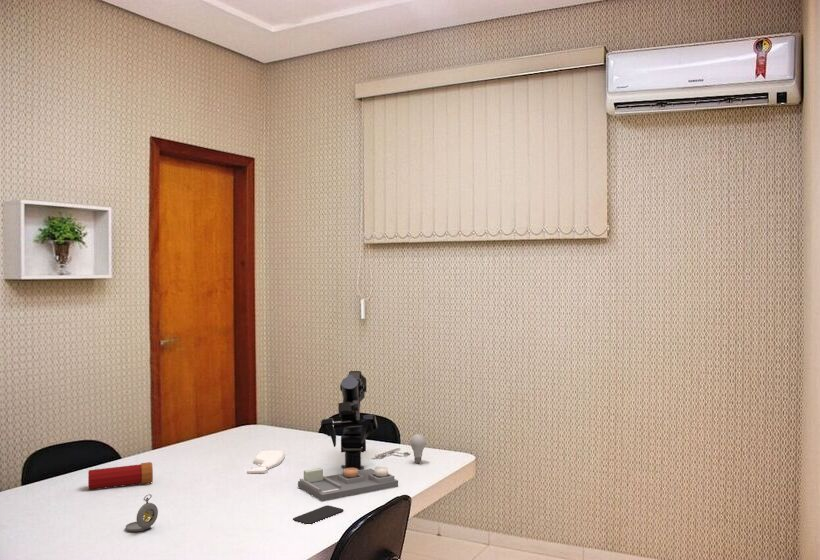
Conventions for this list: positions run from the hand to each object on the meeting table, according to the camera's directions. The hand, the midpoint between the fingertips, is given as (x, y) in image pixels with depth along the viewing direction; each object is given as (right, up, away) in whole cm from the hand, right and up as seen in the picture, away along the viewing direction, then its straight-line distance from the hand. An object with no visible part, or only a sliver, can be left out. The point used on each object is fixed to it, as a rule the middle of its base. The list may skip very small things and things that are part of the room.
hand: (347, 444), depth 225 cm
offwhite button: (+11, -11, +3) cm, 16 cm away
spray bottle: (-34, -15, +29) cm, 47 cm away
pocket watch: (-54, -14, -39) cm, 68 cm away
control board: (0, -14, +1) cm, 15 cm away
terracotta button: (+1, -11, +2) cm, 11 cm away
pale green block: (-12, -12, +1) cm, 17 cm away
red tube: (-77, -15, +2) cm, 78 cm away
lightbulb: (+24, -15, +32) cm, 43 cm away
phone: (-6, -15, -27) cm, 31 cm away
